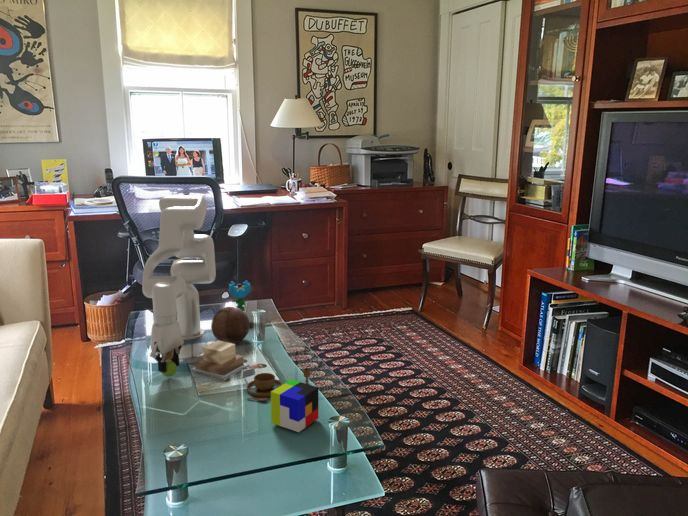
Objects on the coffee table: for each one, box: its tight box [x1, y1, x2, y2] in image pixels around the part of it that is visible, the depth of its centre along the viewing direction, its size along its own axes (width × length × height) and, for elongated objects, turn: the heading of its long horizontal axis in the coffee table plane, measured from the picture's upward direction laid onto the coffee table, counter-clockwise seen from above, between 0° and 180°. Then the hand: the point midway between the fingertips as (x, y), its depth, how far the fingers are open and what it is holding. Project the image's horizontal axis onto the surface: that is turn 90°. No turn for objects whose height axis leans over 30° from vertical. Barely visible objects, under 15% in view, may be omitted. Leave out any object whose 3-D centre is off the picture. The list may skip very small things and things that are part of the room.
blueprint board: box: [189, 362, 251, 380], centre depth 209 cm, size 16×14×1 cm
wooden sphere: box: [210, 306, 250, 345], centre depth 233 cm, size 15×15×15 cm
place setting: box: [246, 367, 311, 402], centre depth 193 cm, size 18×20×6 cm
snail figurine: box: [160, 349, 178, 378], centre depth 199 cm, size 5×6×12 cm
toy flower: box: [228, 280, 251, 312], centre depth 259 cm, size 9×9×18 cm
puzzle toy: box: [270, 379, 319, 433], centre depth 172 cm, size 10×10×10 cm
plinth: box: [195, 339, 245, 376], centre depth 208 cm, size 12×12×8 cm
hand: (168, 367), depth 199 cm, fingers closed on snail figurine, 5 cm apart
